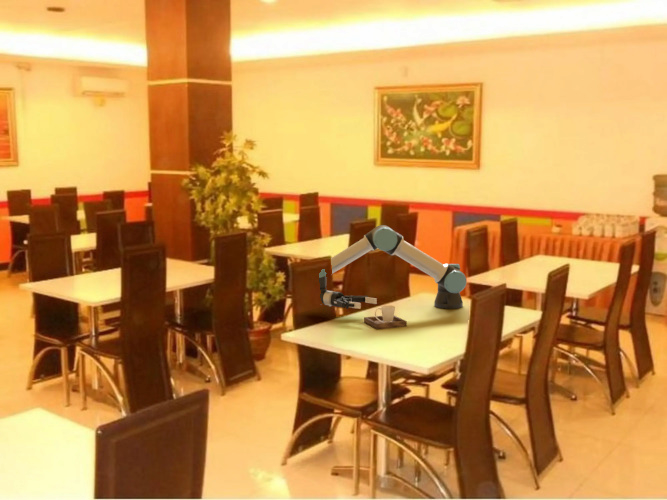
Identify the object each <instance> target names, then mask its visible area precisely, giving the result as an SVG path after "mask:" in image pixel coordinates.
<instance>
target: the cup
mask: <svg viewBox="0 0 667 500" xmlns="http://www.w3.org/2000/svg"><path fill="white" fill-rule="evenodd" d="M378 310H380V311H381V316H382V317H383V320H384V321H385V322H382V321H380V320H379V319H378V318H377V317H376V316H377V311H378ZM395 312H396V306H395V305H390V304H385V305H380V307H378V308H376V309H375V312H374V316H375V317H376V319H378V320H379V321H380V322H382V323H387V322H391V321H393V318H394V316H395Z"/></svg>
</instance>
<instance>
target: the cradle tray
mask: <svg viewBox="0 0 667 500" xmlns="http://www.w3.org/2000/svg"><path fill="white" fill-rule="evenodd" d="M376 317H377V318H378V319H379V320H380V321H382V322H385V321H384V320H383V317H382V315H376ZM376 317H375V315H374V316H366V317H365V316H364V317H363V323H364V324H366V325H369V326H370V327H372V328H374V329H375V330H384V329H393V328H402V327H407V320H405V319H402V318H401V317H398V316H397V315H394V318H393V321H391V322H387V323H382V322H380V321H379V320H378V319H376Z"/></svg>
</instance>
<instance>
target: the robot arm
mask: <svg viewBox="0 0 667 500" xmlns="http://www.w3.org/2000/svg"><path fill="white" fill-rule="evenodd" d="M377 249H378V250H380V251H383V252H385V253H386V254H388V255H390V256H397V257H399V258H400V259H402V260H404V261H405V262H407V264H408V263H409V264H410V265H412V266H413V267H415V268H416V269H418V270H419V271H421V272H423V273H425V274H426V275H428V276H429V277H431V278H433V279H434V283H435V284H437V293H436V296H435V299H434V302H433V303H434V305H433V306H434V307H435V308H437V309H444V308H445V310H450V309H451V310H452V309H453V308H455V309H460V307H461V308H463V305H464V303H463V300H462V295H461V292H462V291H463V290H464V289H465V288H466V287H467V281H468V280H467V277H466V275H465V273H464V272H462V271H461V266H460V264H459V263H447V262H446V263H442V262H440V261H439V260H437V259H435V258H434V257H432V256H431V255H429V254H427V253H425V252H424V251H422V250H420V249H419V248H417V247H415V246H414V245H413V244H411V243H409V242H407V241H406V240H404V236H403V235H402V234H401V233H399V232H397V231H395V230H393V228H391V227H390V226H388V225H385V224H380V225H378V226H375V227H374V228H372V229H371V230H370V231H369V232H367V233H366V234H364V235H363V238H361V239H359V241H356V242H355V243H353V244H352V245H350V246H348V247H346V248H345V249H343V250H342V251H341V252H339V253H337V254H335V255H334V256H332V257H330V258H331V265H332V274H331V275H333V274H334V273H337V271H339V270H341V269H343V268H344V267H346V266H347V265H349V264H351V263H352V262H354V261H356V260H358V259H359V258H361V257H362V256H364V255H365V254H367V253H369V252H370V251H376V250H377ZM326 274H327V273H326V272H325V269H322V270H321V272H320V273H319V283H320V290H321V294H320V298H321V301H322V303H323V304H324V305H323V306H328V307H337V308H340V307H341V308H343V309H346V310H349V308H352V309H359V310H360V309H361V308H362V303H366V304H373V305H377V304H378V303H377V301H378V300H377V299H378V298H375V297H369V296H368V295H367V294H365V295H351V294H350V295H344V294H343V292H341V291H334V290H327V287H326V286H327V277H326ZM325 288H326V289H325ZM453 310H454V309H453Z"/></svg>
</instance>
